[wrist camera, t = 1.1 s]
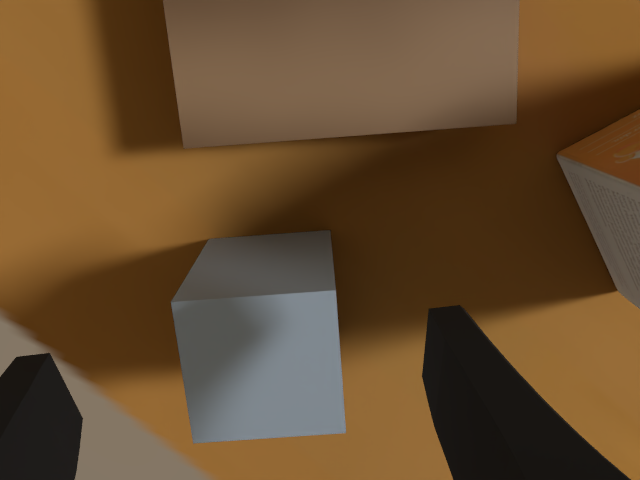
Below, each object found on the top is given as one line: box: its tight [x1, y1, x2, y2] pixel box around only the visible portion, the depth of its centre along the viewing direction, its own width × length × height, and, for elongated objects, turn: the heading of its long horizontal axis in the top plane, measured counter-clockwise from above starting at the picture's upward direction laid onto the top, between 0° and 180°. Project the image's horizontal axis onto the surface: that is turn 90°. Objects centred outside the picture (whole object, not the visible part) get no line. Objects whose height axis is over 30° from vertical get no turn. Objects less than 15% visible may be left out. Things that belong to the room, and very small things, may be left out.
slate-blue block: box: [171, 230, 346, 443], centre depth 19 cm, size 4×4×6 cm
